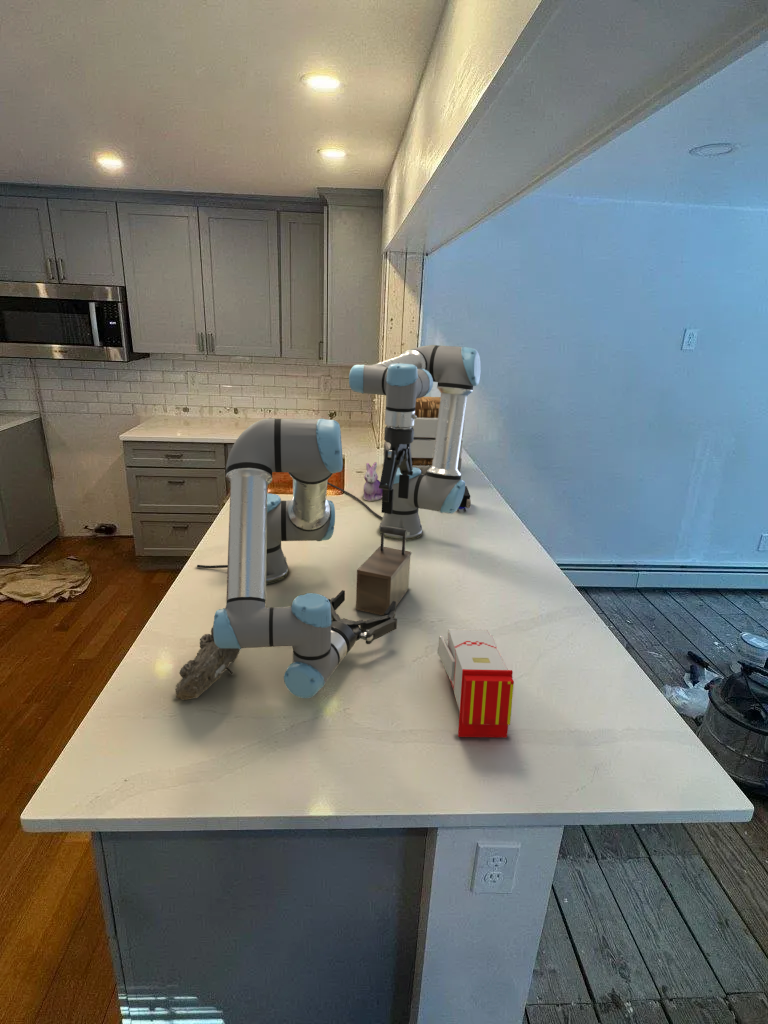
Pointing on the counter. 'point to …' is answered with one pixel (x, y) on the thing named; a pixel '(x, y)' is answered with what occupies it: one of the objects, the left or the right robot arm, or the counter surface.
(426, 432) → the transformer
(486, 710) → the toy
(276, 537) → the left robot arm
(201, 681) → the fossil
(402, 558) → the lid
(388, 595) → the chest
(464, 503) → the figurine character
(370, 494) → the figurine
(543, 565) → the counter surface
